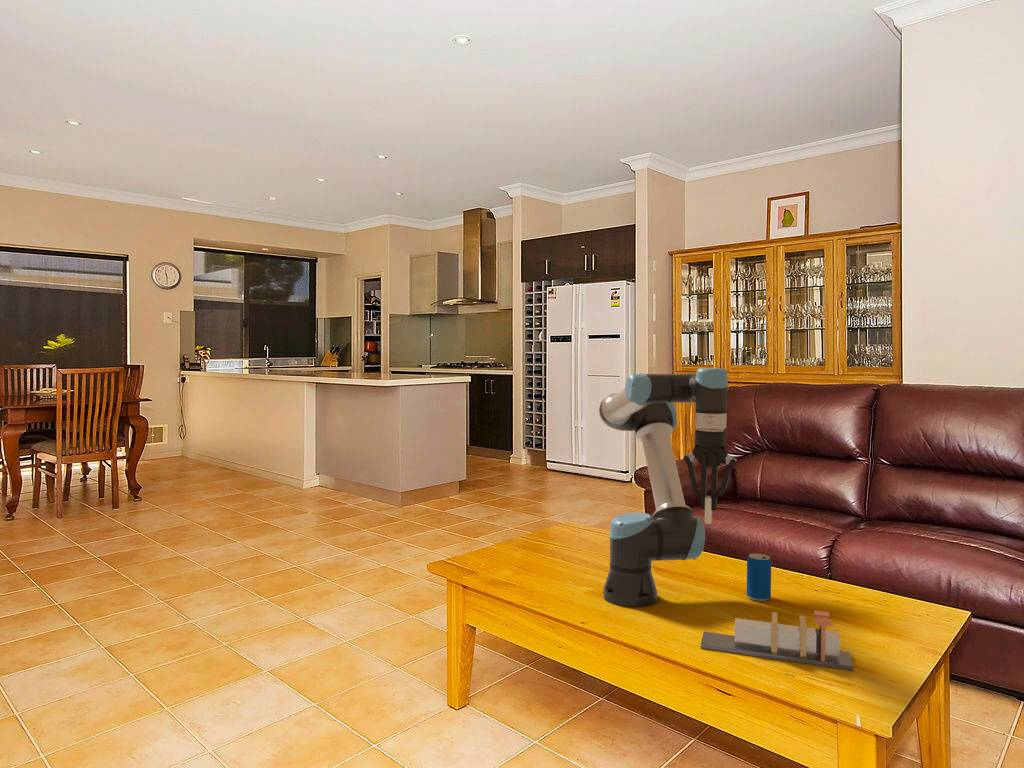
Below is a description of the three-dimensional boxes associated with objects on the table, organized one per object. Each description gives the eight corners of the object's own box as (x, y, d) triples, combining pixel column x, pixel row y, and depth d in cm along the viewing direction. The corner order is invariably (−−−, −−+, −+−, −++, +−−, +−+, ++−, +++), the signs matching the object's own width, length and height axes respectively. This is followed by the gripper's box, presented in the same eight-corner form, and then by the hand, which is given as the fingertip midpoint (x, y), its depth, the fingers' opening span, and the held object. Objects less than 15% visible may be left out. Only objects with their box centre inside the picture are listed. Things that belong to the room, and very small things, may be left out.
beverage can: (772, 603, 188) (773, 560, 188) (748, 601, 189) (748, 558, 189) (768, 595, 194) (769, 553, 194) (745, 593, 196) (745, 552, 195)
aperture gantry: (815, 660, 149) (816, 621, 149) (813, 647, 156) (814, 610, 156) (830, 662, 148) (831, 623, 148) (827, 649, 155) (828, 612, 155)
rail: (700, 648, 158) (701, 614, 158) (703, 635, 165) (704, 603, 165) (853, 671, 146) (854, 634, 146) (849, 656, 154) (850, 621, 154)
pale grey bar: (734, 641, 157) (734, 624, 157) (735, 634, 161) (735, 617, 161) (839, 656, 149) (839, 638, 149) (837, 649, 153) (838, 631, 153)
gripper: (681, 429, 169) (679, 523, 170) (736, 432, 164) (734, 529, 165) (686, 426, 175) (684, 516, 177) (739, 429, 170) (736, 521, 172)
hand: (708, 522), depth 171 cm, fingers closed
